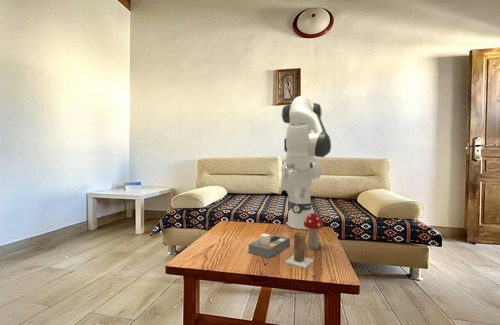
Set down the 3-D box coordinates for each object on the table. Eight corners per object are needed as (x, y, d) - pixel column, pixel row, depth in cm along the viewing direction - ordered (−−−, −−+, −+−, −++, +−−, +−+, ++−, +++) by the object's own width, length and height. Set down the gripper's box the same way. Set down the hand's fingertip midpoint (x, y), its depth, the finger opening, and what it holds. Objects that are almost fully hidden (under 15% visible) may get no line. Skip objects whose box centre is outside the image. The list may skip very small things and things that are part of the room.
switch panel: (270, 241, 114) (270, 233, 114) (289, 245, 108) (289, 237, 108) (248, 252, 99) (248, 243, 99) (269, 258, 93) (269, 249, 93)
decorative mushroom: (323, 251, 101) (324, 216, 101) (303, 249, 103) (303, 215, 103) (322, 244, 110) (323, 211, 110) (303, 242, 112) (303, 210, 112)
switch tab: (264, 246, 102) (264, 233, 102) (270, 247, 101) (270, 234, 101) (260, 248, 100) (260, 235, 100) (266, 249, 98) (266, 236, 98)
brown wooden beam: (304, 260, 90) (304, 233, 90) (301, 262, 88) (301, 235, 88) (297, 258, 92) (297, 232, 92) (293, 260, 90) (294, 234, 90)
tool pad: (294, 256, 96) (294, 254, 96) (313, 261, 91) (313, 259, 91) (285, 262, 89) (285, 261, 89) (305, 268, 84) (305, 266, 84)
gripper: (293, 165, 82) (293, 205, 82) (314, 164, 98) (314, 197, 99) (277, 164, 85) (277, 203, 86) (300, 164, 102) (300, 196, 102)
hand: (297, 200), depth 92 cm, fingers open, 8 cm apart
